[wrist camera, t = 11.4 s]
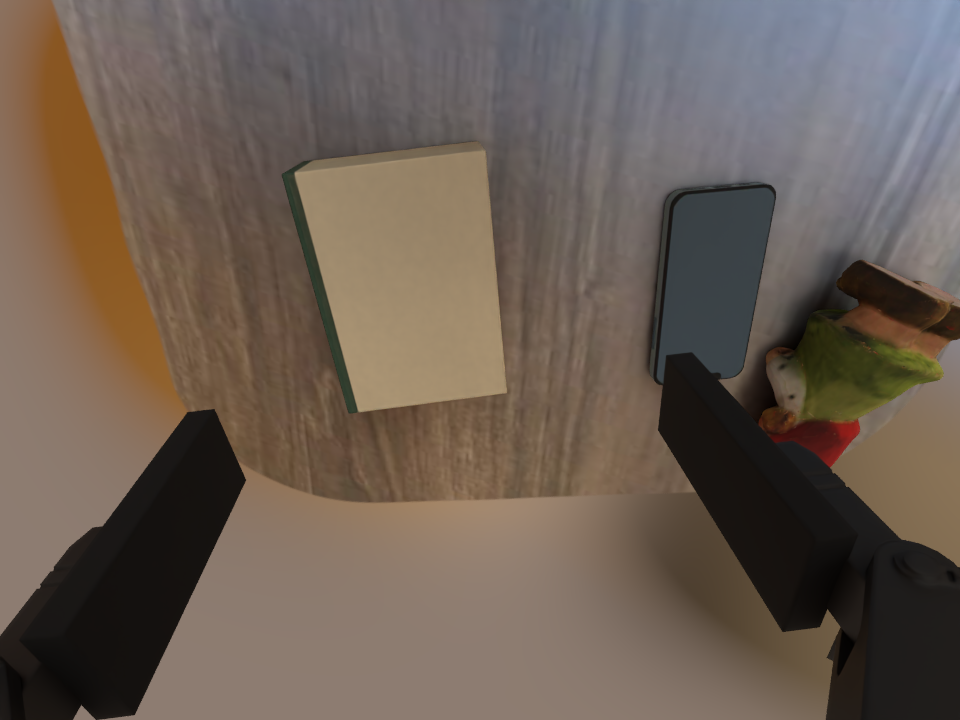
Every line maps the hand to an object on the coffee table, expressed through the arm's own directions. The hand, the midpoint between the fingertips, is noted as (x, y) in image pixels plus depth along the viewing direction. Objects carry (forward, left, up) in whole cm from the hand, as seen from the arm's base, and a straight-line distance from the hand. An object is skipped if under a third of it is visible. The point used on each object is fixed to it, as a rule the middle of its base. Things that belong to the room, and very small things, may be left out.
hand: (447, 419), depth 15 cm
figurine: (+6, +33, -18) cm, 38 cm away
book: (+3, -2, -22) cm, 22 cm away
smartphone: (+7, +19, -22) cm, 30 cm away
